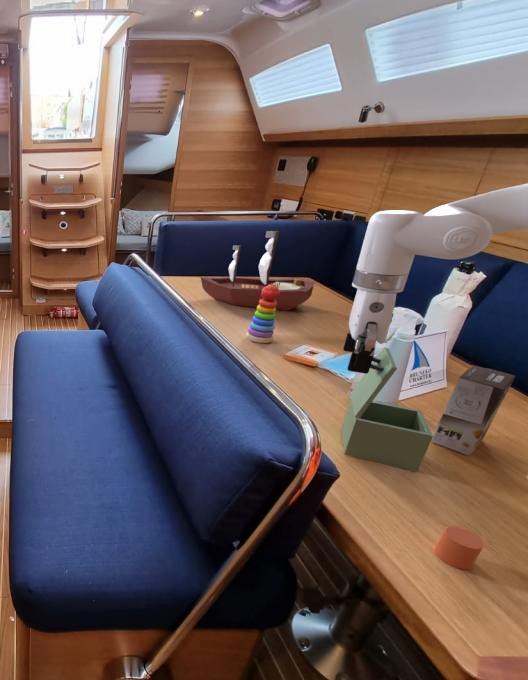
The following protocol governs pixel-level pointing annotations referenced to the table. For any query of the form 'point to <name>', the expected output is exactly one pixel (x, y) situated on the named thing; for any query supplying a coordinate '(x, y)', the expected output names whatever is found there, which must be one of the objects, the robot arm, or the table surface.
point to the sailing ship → (258, 283)
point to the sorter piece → (458, 547)
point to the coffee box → (472, 408)
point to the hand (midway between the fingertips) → (354, 361)
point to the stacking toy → (264, 316)
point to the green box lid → (372, 382)
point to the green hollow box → (387, 435)
